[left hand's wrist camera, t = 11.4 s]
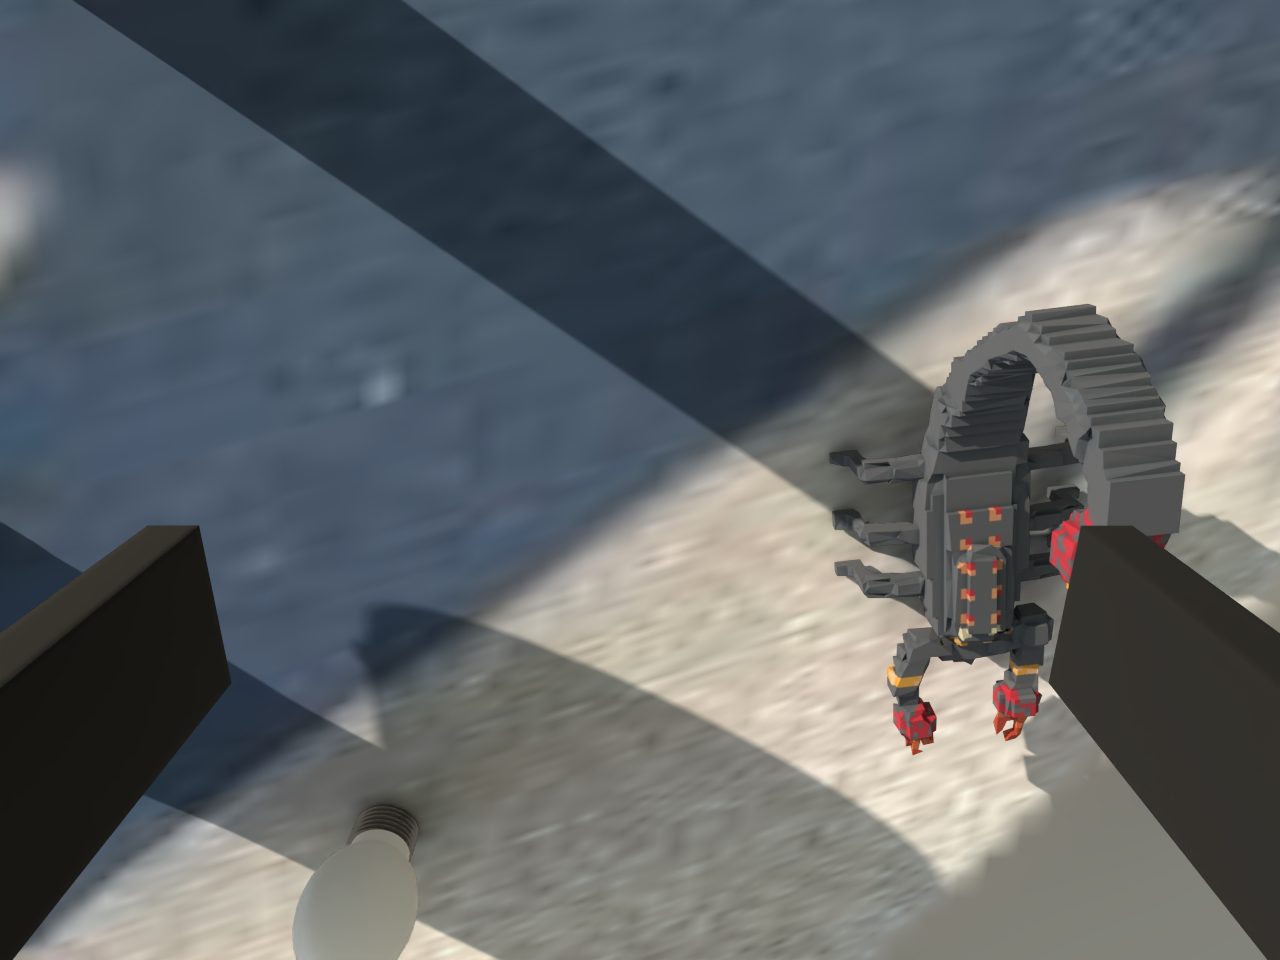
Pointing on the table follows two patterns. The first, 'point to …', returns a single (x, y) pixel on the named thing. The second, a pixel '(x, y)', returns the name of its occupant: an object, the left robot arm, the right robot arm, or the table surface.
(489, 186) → the table surface
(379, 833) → the light bulb
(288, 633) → the table surface
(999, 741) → the table surface
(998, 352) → the toy
